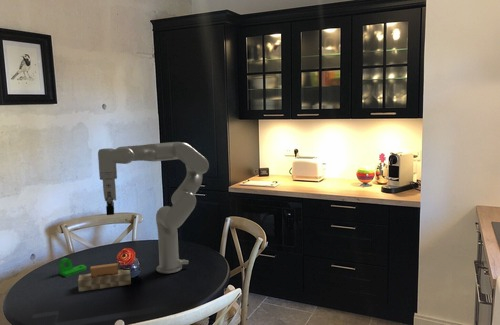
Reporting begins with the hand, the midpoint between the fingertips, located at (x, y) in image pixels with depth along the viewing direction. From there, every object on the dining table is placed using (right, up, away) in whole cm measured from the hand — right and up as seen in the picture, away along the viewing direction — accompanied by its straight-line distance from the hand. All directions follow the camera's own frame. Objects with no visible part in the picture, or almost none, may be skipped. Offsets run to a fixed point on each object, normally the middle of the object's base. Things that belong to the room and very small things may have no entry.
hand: (110, 212), depth 190 cm
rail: (-2, -33, -2) cm, 33 cm away
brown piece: (-2, -32, -2) cm, 32 cm away
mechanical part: (-23, -32, +15) cm, 42 cm away
